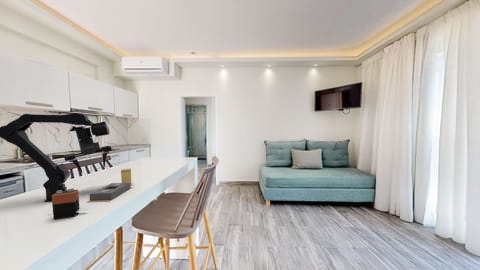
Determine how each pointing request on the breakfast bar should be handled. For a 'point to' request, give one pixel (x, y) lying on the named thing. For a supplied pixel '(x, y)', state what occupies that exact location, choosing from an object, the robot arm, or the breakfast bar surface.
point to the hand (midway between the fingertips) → (93, 169)
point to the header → (109, 192)
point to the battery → (65, 203)
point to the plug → (126, 176)
